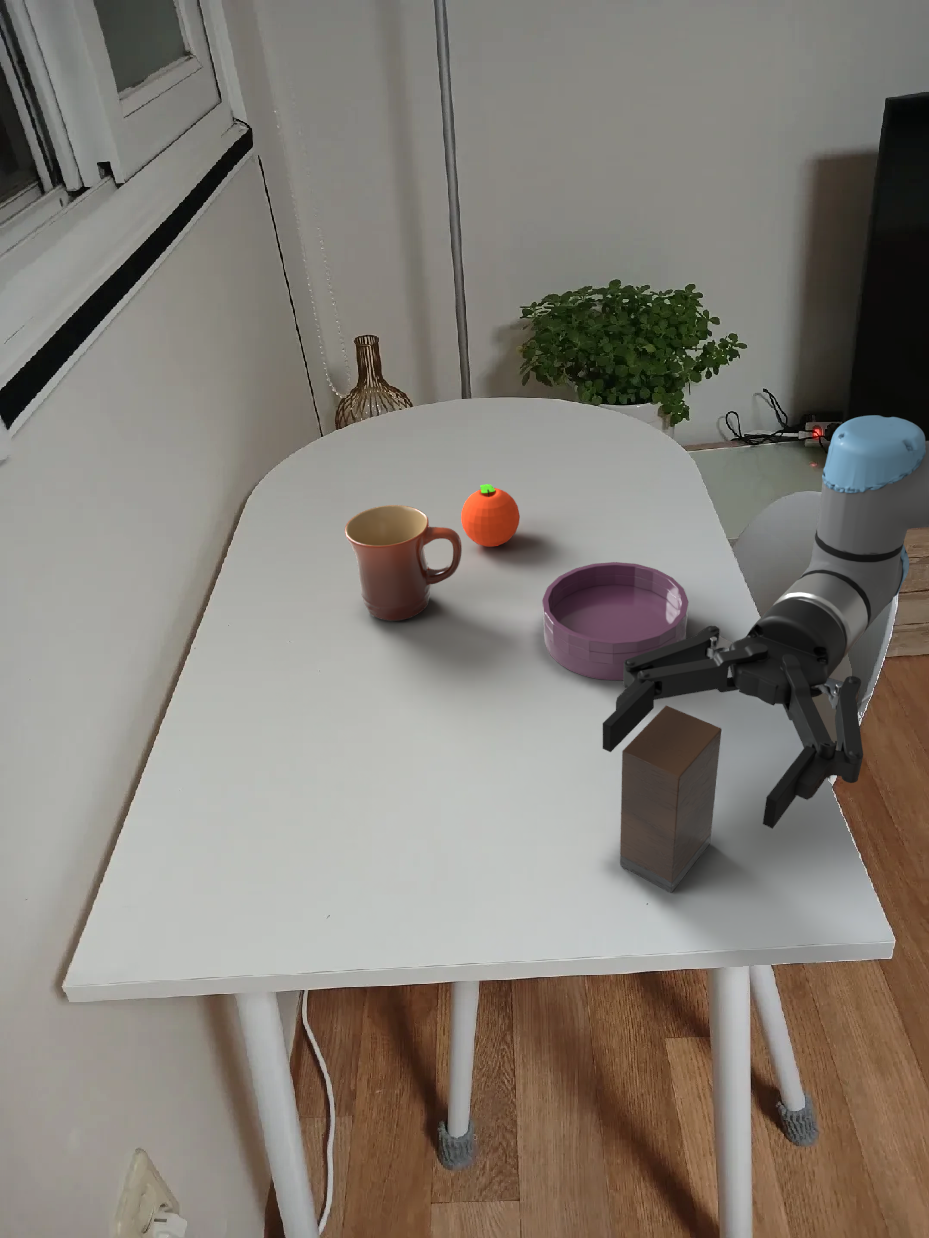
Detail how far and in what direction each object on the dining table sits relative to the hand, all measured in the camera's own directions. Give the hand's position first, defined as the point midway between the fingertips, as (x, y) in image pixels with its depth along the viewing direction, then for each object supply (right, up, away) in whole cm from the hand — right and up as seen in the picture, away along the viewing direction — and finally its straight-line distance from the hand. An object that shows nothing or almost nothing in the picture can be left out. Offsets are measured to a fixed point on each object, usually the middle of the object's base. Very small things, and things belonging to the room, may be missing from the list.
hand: (683, 773), depth 71 cm
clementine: (-13, +21, +44) cm, 50 cm away
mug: (-22, +13, +34) cm, 42 cm away
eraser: (-1, -7, +3) cm, 7 cm away
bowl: (-1, +10, +26) cm, 28 cm away
